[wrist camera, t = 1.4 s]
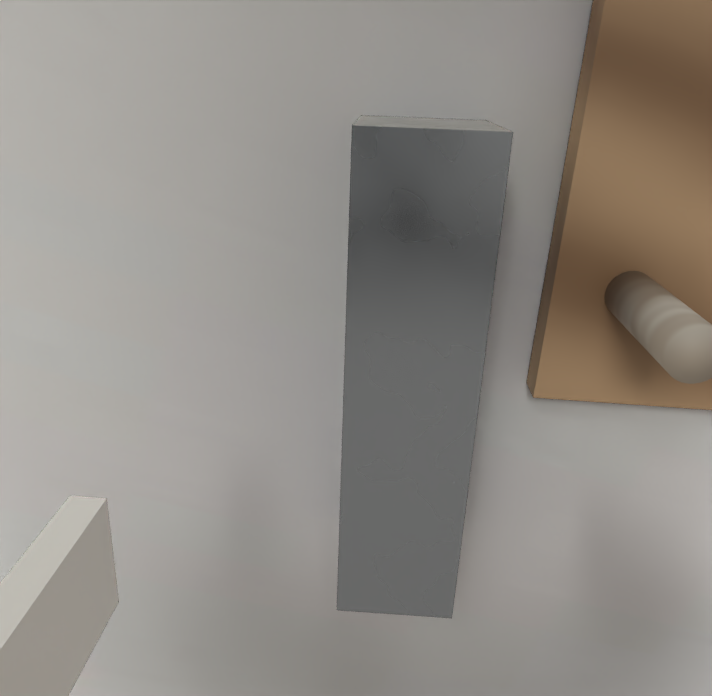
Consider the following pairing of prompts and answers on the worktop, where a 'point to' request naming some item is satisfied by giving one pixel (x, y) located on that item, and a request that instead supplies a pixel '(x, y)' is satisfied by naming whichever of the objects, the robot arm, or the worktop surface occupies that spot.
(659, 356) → the peg rack
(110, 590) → the robot arm
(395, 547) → the steel bar
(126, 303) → the worktop surface
